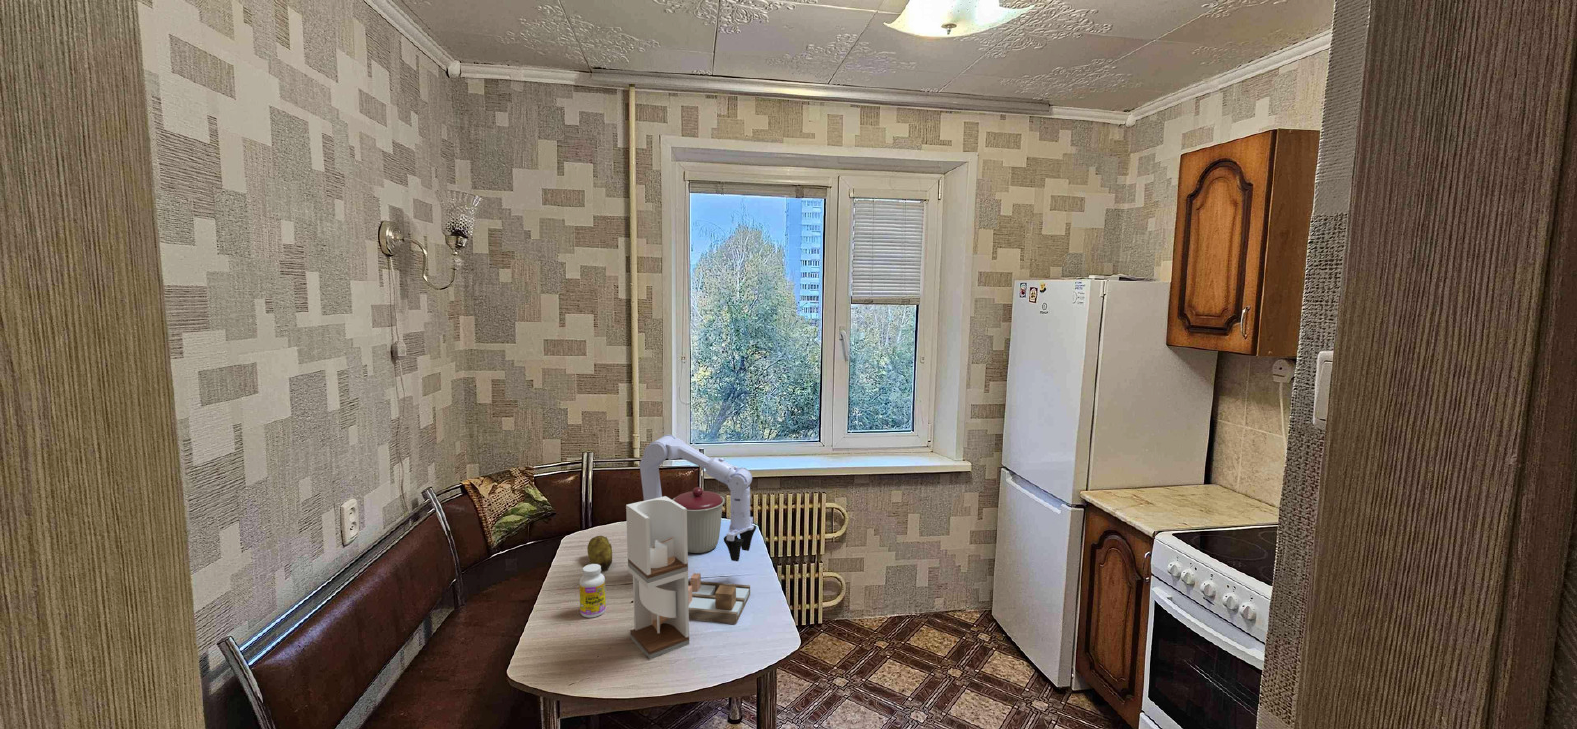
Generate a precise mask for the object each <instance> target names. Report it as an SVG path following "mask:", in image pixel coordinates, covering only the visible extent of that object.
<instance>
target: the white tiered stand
mask: <svg viewBox="0 0 1577 729" xmlns="http://www.w3.org/2000/svg"><path fill="white" fill-rule="evenodd" d="M625 509H626V539H627V540H626V541H627V542H626V544H627V546H626V547H627V570H628V571H627V572H628V573H630V574H631V576H632V591H633V592H632V593H633V595H632V597H633V620H634V621H633V622H634V623H633V624H634V626H633V629H630V630H629V635H630V637H629V638H630V639H631V640H632V642H634V644H635V645H636V646H637V647H638V649H640V650H641V652H642V653H643V654H644V655H645V656H646V657H647V658H648V660H652V659H655V658H657V657H660V656H662V655H665V654H668V653H670V652H672V651H675V650H677V649H680V648H682V647H683V648H684V647H685V646H688V645H690V619H689V601H688V580H689V560H688V558H689V555H688V553H689V552H688V548H687V509H686V508H685V507H683V506H681V505H680V504H678V503H676V502H675V501H673V499H671V498H670V497H668V496H666V495H664V496H662V497H659V498H655V499H650V500H646V501H644V500H643V501H641V500H640V501H637V502H632V503H628V504H625Z"/></svg>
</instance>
